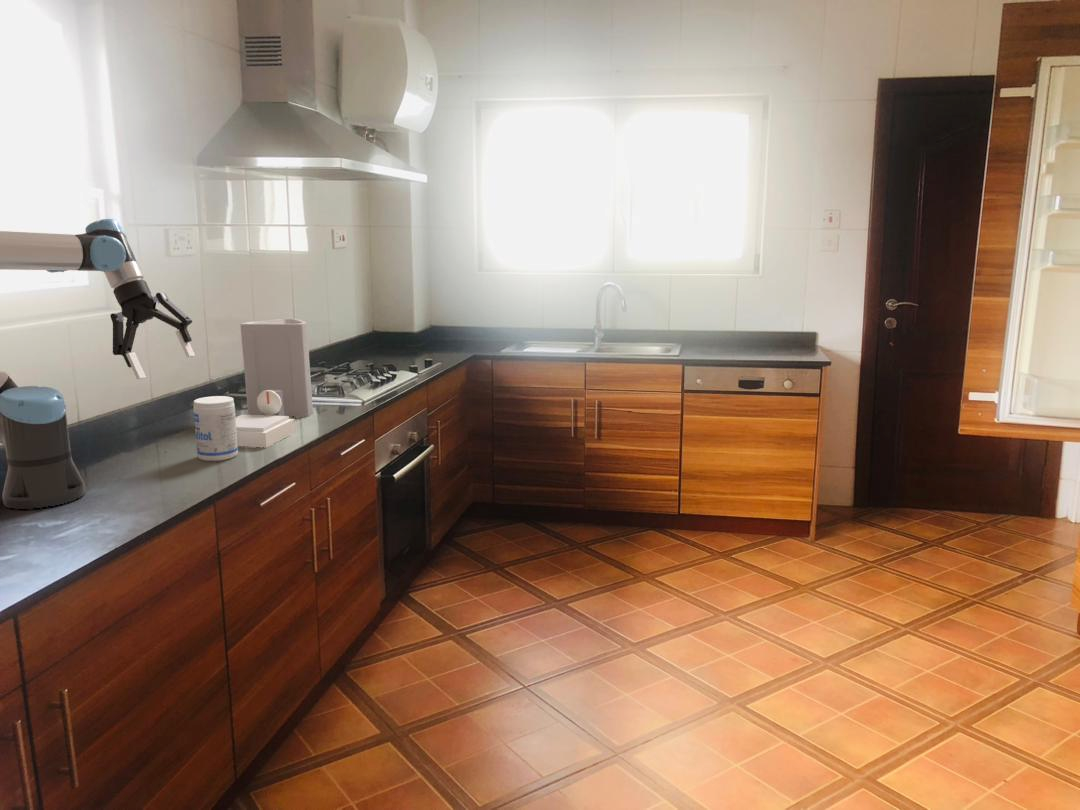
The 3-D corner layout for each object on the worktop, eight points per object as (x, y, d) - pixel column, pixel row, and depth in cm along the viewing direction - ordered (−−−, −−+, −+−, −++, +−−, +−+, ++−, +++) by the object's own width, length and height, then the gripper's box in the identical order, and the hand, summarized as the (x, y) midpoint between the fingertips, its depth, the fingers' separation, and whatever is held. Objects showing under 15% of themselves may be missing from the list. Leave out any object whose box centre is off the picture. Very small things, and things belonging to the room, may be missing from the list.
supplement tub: (189, 460, 205) (183, 402, 202) (215, 450, 214) (209, 394, 211) (222, 463, 202) (216, 404, 199) (246, 453, 211) (241, 396, 208)
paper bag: (325, 406, 265) (319, 318, 259) (307, 417, 250) (301, 324, 244) (268, 405, 267) (261, 318, 261) (247, 416, 253) (239, 324, 247)
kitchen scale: (266, 447, 216) (263, 404, 214) (210, 445, 219) (206, 402, 216) (303, 428, 236) (300, 388, 234) (251, 426, 239) (248, 387, 237)
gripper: (182, 264, 199) (219, 346, 200) (93, 305, 202) (130, 385, 203) (165, 262, 191) (204, 347, 193) (73, 305, 194) (112, 388, 196)
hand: (166, 367), depth 198 cm, fingers open, 13 cm apart
